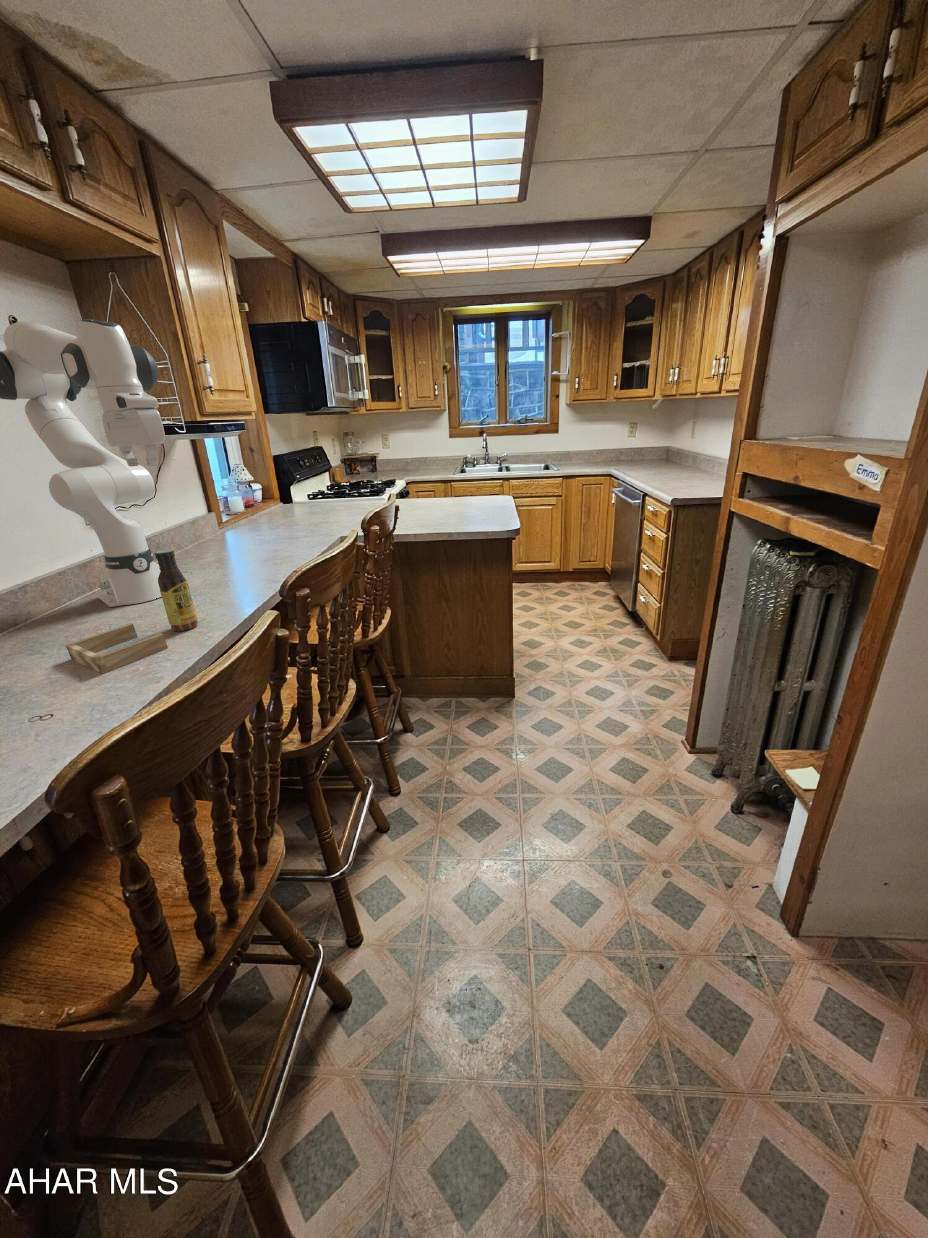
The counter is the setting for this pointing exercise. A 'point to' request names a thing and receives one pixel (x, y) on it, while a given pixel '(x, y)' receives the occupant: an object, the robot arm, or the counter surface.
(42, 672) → the counter surface
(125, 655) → the wooden bracket
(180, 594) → the sauce bottle
